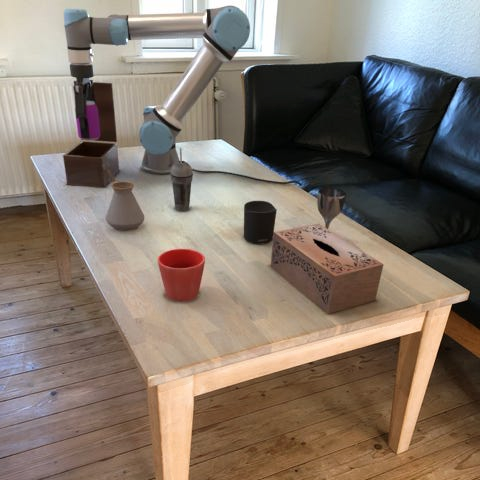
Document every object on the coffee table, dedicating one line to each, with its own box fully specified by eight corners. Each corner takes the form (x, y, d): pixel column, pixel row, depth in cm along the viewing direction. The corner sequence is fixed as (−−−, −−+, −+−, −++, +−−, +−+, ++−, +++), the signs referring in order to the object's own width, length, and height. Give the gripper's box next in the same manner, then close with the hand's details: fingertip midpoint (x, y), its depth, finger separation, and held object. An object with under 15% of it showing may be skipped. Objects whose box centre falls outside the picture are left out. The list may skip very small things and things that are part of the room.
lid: (111, 83, 180) (116, 80, 186) (73, 81, 181) (80, 77, 187) (116, 142, 192) (121, 137, 198) (80, 139, 192) (86, 134, 198)
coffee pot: (150, 230, 154) (148, 181, 145) (113, 237, 149) (108, 186, 140) (126, 206, 169) (122, 160, 160) (91, 211, 164) (86, 164, 155)
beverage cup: (195, 205, 172) (195, 144, 161) (191, 213, 166) (190, 151, 155) (173, 203, 172) (172, 143, 161) (169, 211, 166) (167, 149, 155)
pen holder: (237, 241, 150) (239, 209, 145) (249, 229, 157) (251, 198, 152) (267, 247, 147) (270, 215, 142) (278, 235, 155) (281, 204, 149)
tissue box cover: (375, 300, 126) (383, 264, 120) (328, 313, 120) (334, 276, 114) (314, 256, 144) (318, 223, 139) (270, 266, 138) (273, 232, 133)
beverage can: (74, 137, 182) (69, 101, 175) (93, 134, 187) (90, 99, 180) (85, 142, 178) (80, 105, 171) (104, 139, 182) (101, 103, 175)
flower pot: (160, 283, 128) (158, 247, 122) (204, 283, 129) (204, 248, 124) (158, 305, 119) (156, 268, 114) (205, 305, 120) (205, 268, 115)
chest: (104, 187, 182) (101, 158, 176) (67, 184, 183) (62, 155, 177) (119, 170, 198) (117, 143, 192) (84, 168, 199) (81, 140, 193)
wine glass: (340, 237, 156) (348, 190, 147) (335, 248, 149) (343, 198, 141) (314, 233, 158) (321, 185, 149) (309, 243, 151) (315, 194, 143)
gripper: (82, 68, 160) (90, 143, 173) (101, 60, 177) (107, 128, 190) (58, 67, 160) (68, 141, 173) (80, 58, 177) (87, 127, 190)
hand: (89, 134), depth 181 cm, fingers closed on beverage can, 8 cm apart
